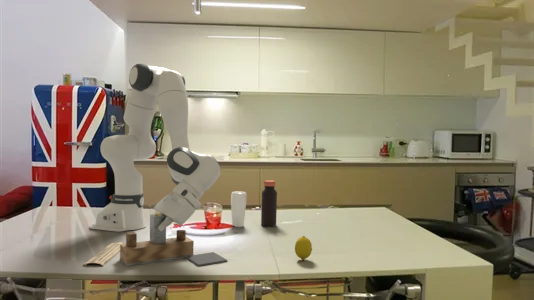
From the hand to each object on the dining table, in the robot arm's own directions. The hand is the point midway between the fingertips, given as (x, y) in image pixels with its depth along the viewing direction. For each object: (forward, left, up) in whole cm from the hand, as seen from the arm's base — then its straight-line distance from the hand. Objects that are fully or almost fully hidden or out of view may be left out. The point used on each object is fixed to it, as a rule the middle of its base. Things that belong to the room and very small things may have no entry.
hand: (156, 227), depth 137 cm
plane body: (0, 0, -10) cm, 10 cm away
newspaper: (-17, 0, -11) cm, 21 cm away
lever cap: (0, 0, -5) cm, 5 cm away
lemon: (+47, +7, -10) cm, 49 cm away
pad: (+16, +1, -10) cm, 19 cm away
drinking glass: (+17, +51, -10) cm, 55 cm away
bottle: (+30, +56, -10) cm, 65 cm away
